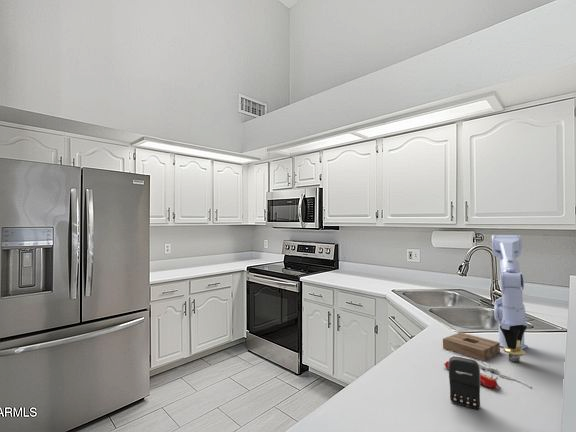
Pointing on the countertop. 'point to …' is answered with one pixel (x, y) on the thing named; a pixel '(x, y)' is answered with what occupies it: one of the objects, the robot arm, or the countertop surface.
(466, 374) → the battery charger
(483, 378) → the candy bar
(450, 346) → the hitch block
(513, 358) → the pin
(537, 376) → the countertop surface
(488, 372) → the pliers
